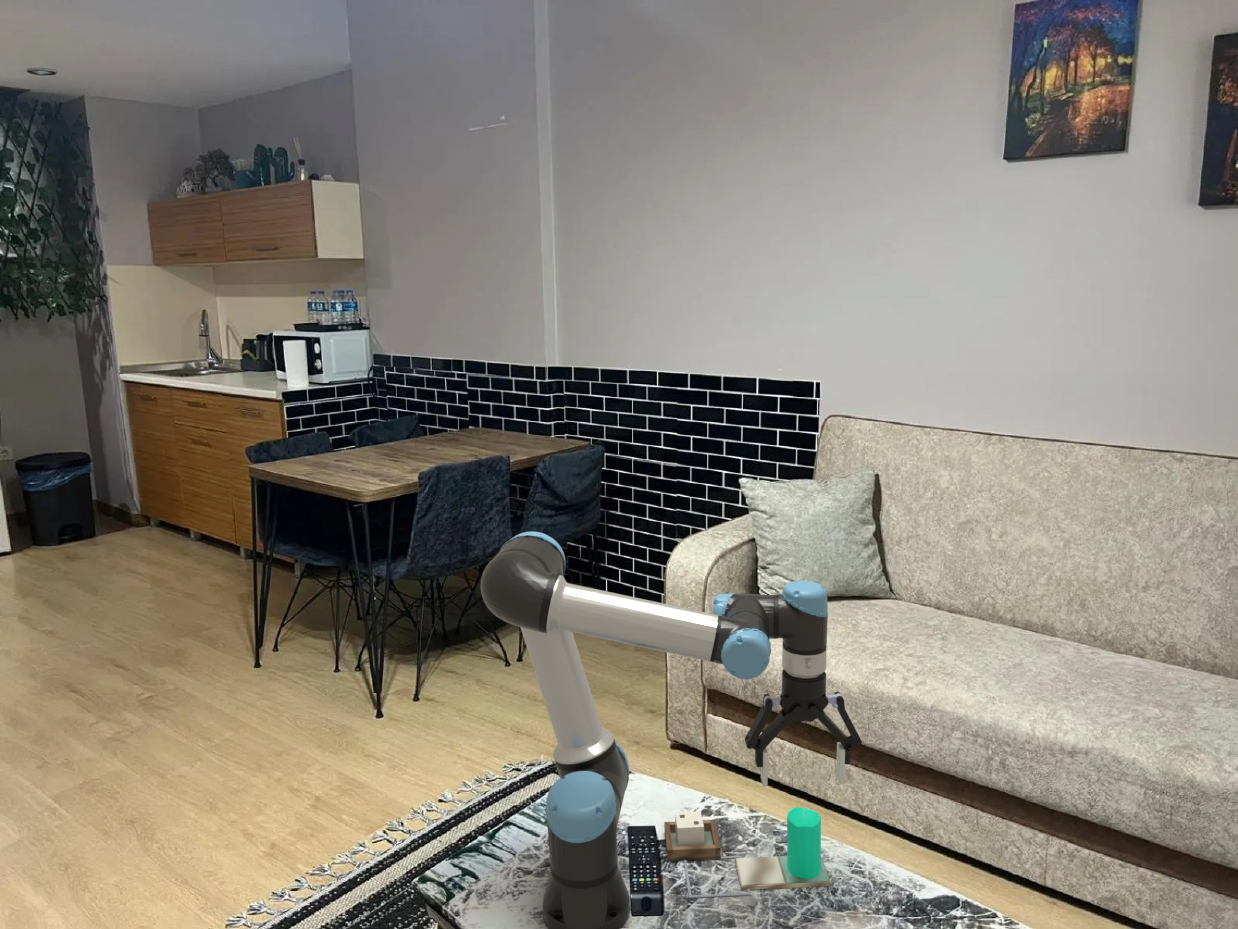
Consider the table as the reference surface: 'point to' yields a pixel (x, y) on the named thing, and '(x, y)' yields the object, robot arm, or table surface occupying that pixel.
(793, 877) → the beige green flat slab
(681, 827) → the die
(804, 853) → the candle
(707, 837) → the tray
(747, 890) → the pad
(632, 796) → the table surface
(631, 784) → the table surface
